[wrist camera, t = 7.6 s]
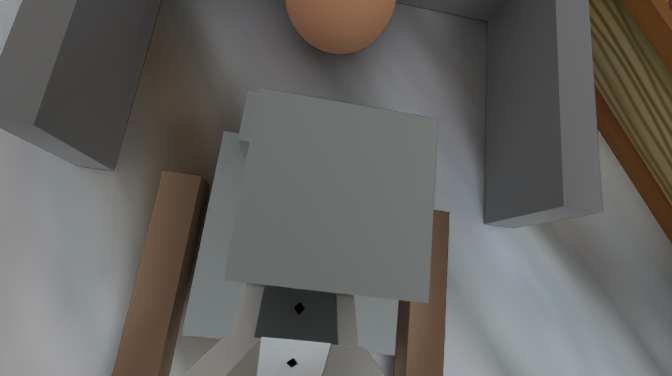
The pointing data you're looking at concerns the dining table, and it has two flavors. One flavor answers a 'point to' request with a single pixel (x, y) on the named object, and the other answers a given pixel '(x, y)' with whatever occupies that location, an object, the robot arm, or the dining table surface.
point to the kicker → (318, 211)
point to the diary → (636, 93)
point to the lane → (174, 272)
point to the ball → (340, 22)
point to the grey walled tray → (478, 3)
